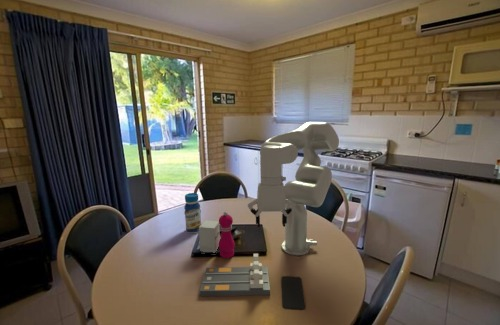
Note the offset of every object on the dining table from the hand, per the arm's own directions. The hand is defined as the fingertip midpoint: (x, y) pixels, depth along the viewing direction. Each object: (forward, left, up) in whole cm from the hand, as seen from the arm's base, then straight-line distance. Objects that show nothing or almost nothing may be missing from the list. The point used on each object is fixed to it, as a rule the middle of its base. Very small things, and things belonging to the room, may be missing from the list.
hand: (271, 225), depth 89 cm
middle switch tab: (+6, +5, -18) cm, 19 cm away
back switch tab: (+6, 0, -18) cm, 19 cm away
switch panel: (+13, +5, -20) cm, 25 cm away
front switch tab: (+6, +10, -18) cm, 21 cm away
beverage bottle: (+38, -37, -20) cm, 57 cm away
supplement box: (+26, -18, -20) cm, 38 cm away
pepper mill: (+18, -14, -20) cm, 31 cm away
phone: (-6, +10, -21) cm, 24 cm away
